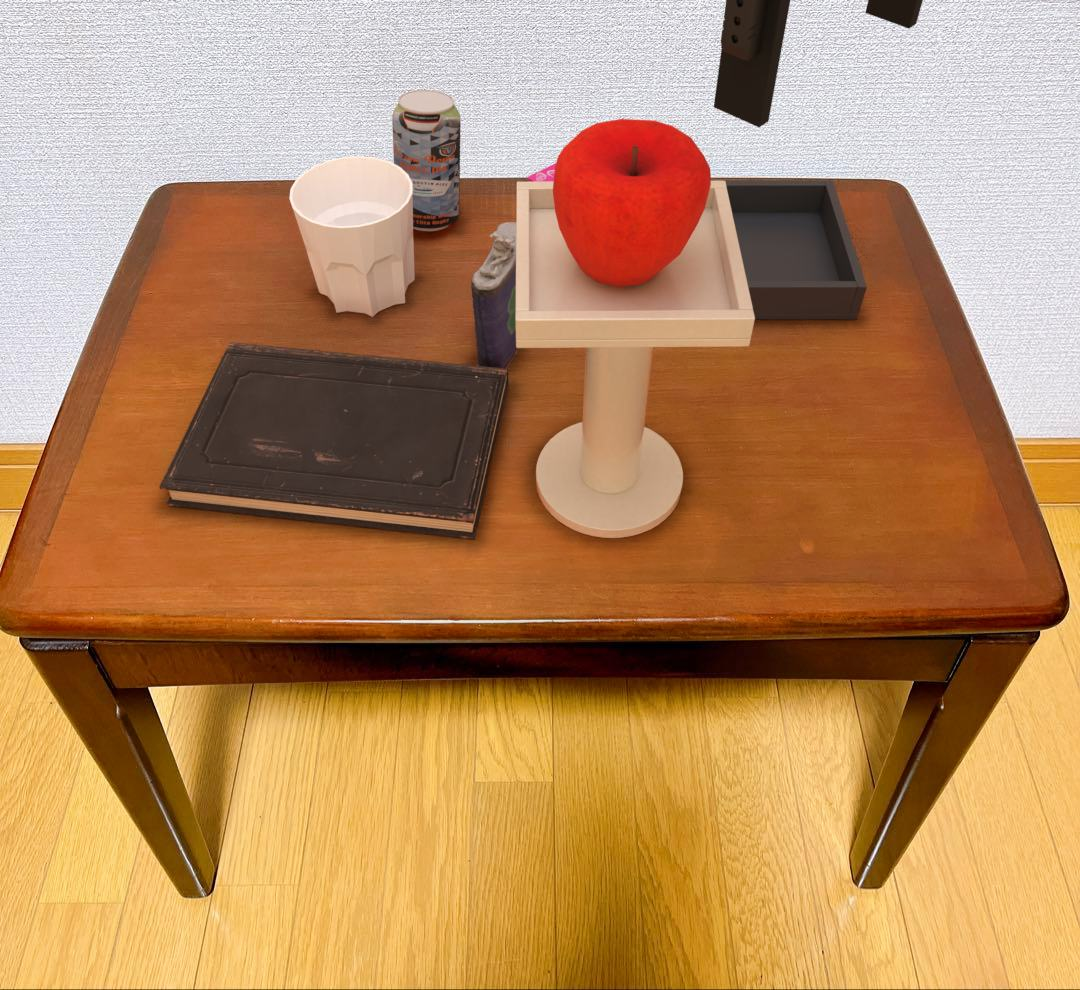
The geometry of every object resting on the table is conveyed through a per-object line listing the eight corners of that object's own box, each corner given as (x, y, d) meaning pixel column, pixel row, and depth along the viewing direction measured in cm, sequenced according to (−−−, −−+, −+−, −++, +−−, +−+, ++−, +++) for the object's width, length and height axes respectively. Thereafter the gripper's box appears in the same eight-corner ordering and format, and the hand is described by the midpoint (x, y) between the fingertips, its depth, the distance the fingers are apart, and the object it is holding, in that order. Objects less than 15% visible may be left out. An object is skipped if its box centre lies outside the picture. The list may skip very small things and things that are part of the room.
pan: (824, 212, 98) (833, 180, 95) (856, 319, 88) (867, 286, 85) (663, 212, 98) (666, 180, 95) (677, 319, 88) (681, 287, 85)
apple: (704, 315, 58) (723, 198, 52) (550, 313, 58) (552, 195, 52) (692, 221, 64) (708, 106, 58) (552, 220, 64) (554, 104, 58)
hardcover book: (474, 540, 73) (473, 520, 71) (167, 506, 75) (158, 486, 73) (509, 384, 83) (508, 364, 81) (237, 358, 85) (231, 337, 83)
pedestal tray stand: (687, 416, 81) (725, 180, 64) (706, 550, 72) (755, 318, 56) (521, 417, 80) (516, 181, 64) (521, 551, 72) (515, 319, 56)
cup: (406, 329, 87) (394, 233, 79) (295, 316, 88) (272, 220, 81) (435, 258, 93) (425, 163, 86) (330, 246, 94) (312, 151, 87)
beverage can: (388, 236, 95) (372, 118, 86) (413, 192, 100) (400, 76, 91) (452, 246, 95) (442, 128, 85) (474, 201, 99) (467, 84, 90)
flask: (502, 303, 89) (499, 198, 81) (534, 308, 89) (534, 204, 81) (472, 373, 84) (465, 269, 75) (506, 380, 83) (503, 276, 75)
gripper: (1013, -556, 43) (885, -35, 59) (633, -493, 32) (604, 131, 48) (1191, -544, 40) (1004, 5, 56) (839, -468, 28) (732, 194, 44)
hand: (819, 64), depth 52 cm, fingers open, 13 cm apart
